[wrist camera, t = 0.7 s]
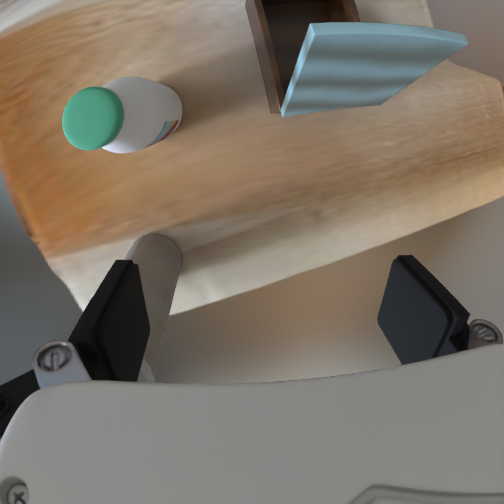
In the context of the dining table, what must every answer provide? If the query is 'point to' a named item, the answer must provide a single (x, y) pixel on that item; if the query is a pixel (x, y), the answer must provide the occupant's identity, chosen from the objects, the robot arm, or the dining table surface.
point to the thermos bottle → (156, 291)
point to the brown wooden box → (288, 36)
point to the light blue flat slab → (363, 63)
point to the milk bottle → (122, 115)
